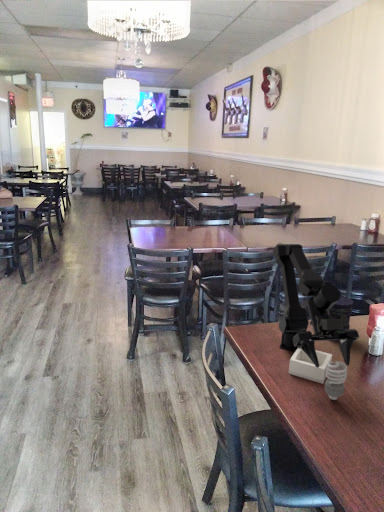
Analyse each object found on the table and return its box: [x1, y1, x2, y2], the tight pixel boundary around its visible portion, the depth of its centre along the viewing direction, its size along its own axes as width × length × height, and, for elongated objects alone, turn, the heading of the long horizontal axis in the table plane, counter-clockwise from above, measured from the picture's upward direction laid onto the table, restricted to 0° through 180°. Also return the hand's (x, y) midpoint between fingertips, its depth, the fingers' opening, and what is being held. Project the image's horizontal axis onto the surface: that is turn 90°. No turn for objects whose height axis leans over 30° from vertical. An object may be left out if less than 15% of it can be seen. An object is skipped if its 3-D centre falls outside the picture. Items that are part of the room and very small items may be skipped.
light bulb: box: [324, 360, 348, 401], centre depth 114 cm, size 6×6×12 cm
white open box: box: [288, 348, 333, 384], centre depth 130 cm, size 11×11×5 cm
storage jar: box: [328, 295, 354, 343], centre depth 154 cm, size 10×10×15 cm
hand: (333, 366), depth 115 cm, fingers open, 9 cm apart
